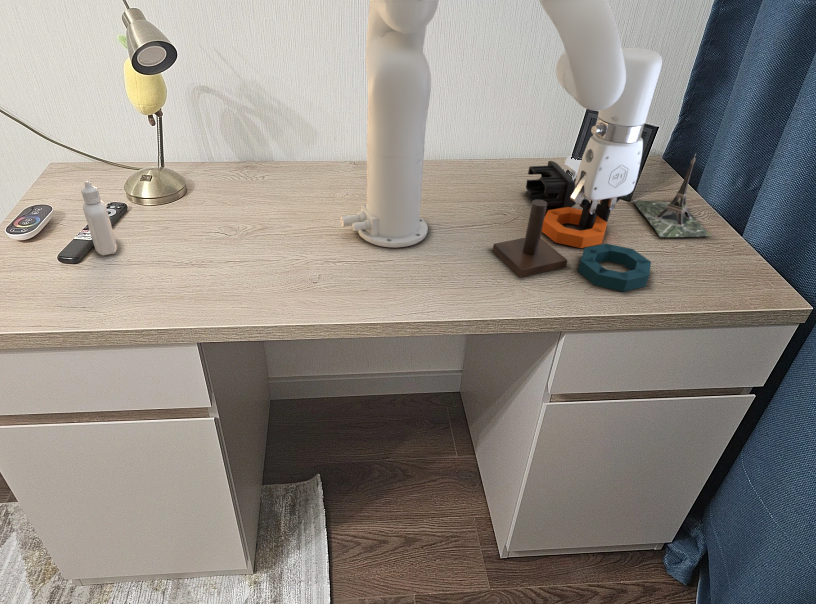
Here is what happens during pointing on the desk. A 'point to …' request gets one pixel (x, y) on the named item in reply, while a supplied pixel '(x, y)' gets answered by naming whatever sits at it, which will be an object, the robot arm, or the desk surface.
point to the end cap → (551, 186)
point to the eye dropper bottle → (98, 221)
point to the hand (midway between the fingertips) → (591, 227)
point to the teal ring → (609, 277)
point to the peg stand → (531, 247)
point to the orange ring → (572, 236)
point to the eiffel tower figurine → (673, 214)
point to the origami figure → (572, 165)
